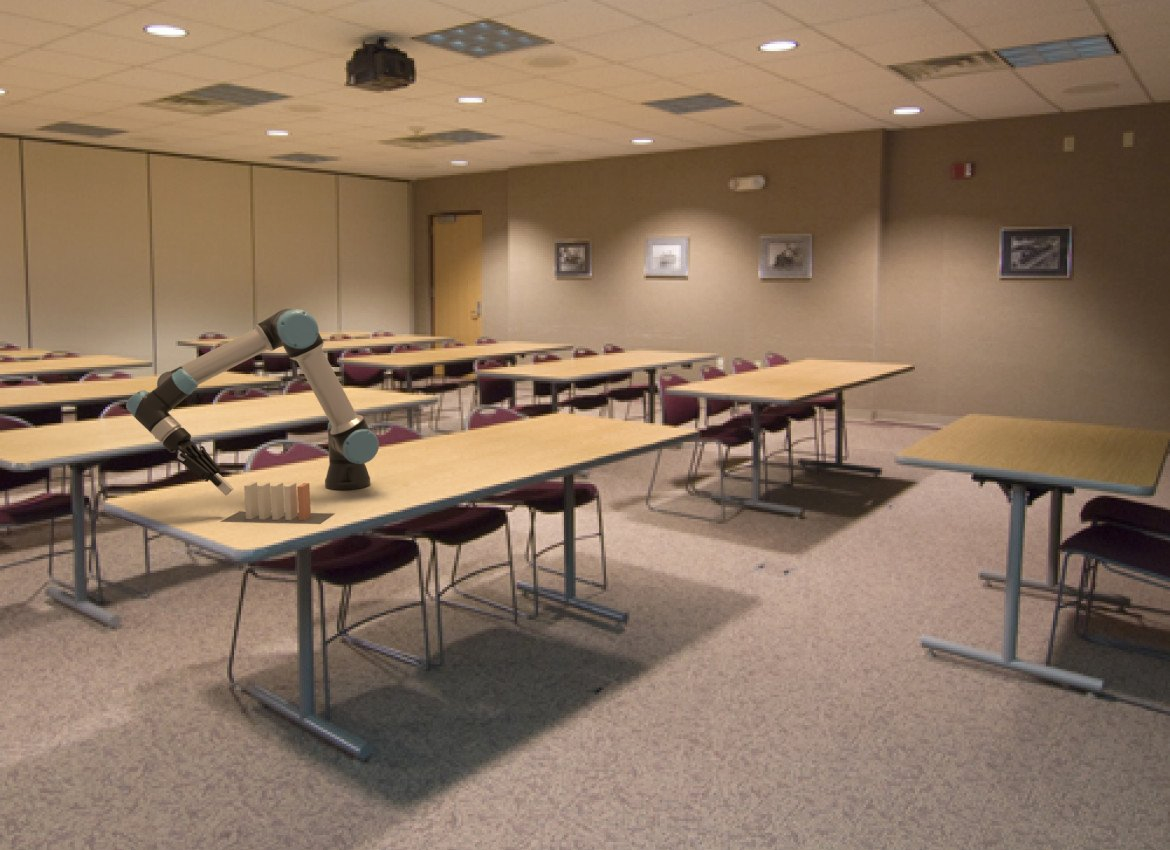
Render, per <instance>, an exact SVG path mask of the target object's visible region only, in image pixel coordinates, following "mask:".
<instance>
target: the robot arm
mask: <svg viewBox="0 0 1170 850" xmlns="http://www.w3.org/2000/svg"><path fill="white" fill-rule="evenodd" d="M324 343H325V342H324V340H323V338H322V336H321V334H320V329H319V325H318V322H317V321H316V319H315V318H314V316H312V315H311V314H310V313H309V312H307V311H305V310H304V309H298V308H294V309H293V308H285V309H280V310H279V311H277V312H275V313H274V314H272V315H271V316H269V317H267V318H266V319H265V320H263V321H261V322H258V323H257V324H256V325H255V327H254V328H253V329H252V330H250V331H248V332H246V333H244V334H242V335H241V336H238V337H236V338H234V339H232V340H230V341H228V342H226V343H225V344H222V345H220V346H218V347H216V348H214V349H212V350H210V351H208V352H206V353H204V354H203V355H199V356H198V357H196V358H194V359H192V360H190V361H189V362H186V363H184V364H182V365H180V366H178V367H176V368H175V369H173V370H171V371H169V370H168V371H165V372H163V373H161V374H160V376H159V377H158V378H157V382H156V388H154V389H153V390H152V391H150V392H149V391H147V390H146V389H142V390H138V391H137V392H136V393H134V394H132V396H130V397H129V399H128V400H127V401H126V403H125V407H126V410H127V411H128V412H129V413H130V414H131V415H132V416H133V418H135V419H136V420H137V421H138V423H140V424H141V425H142V426H143V428H145V429H146V430H147V431H148V432H149V433H150V434H151V435H152V436H153V437H154V439H155V440H158V442H159V443H162V446H163V447H164V448H165V449H166V450H167V451H168V452H169V453H176V455H177V457H175V460H176V461H177V462H179V463H181V464H182V465H183V466H185V467H186V468H188V469H189V470H190V471H191V472H193V473H194V474H195V475H196V476H197V477H199V478H200V479H202V480H204V481H205V483H206V482H209V481H210V482H211V483H212V484H213V485H214V486H215V487H216V488H218V490H219V491H220V492H221V493H222V494H223V495H224V496H228V495H229V494H230V493H231V492H232V491H233V490H234V487H233V486H232V485H231V484H230V483H229V482H228V481H227V480H226V479H225V478H224V477H223V476H222V475H221V474H220V472H221V468H220V467H219V466H218V464H217V463H216V461H214V459H213V458H212V457H211V455H210V454H209V453H208V452H207V450H206V448H205V446H203V445H200V447H199V446H197V445H196V444H195V443H194V442H192V441H191V438H192V434H191V433H189V431H187V430H186V428H184V427H182V425H181V423H180V422H178V421H177V419H175V418H174V417H173V415H172V414H170V413H169V412H170V411H172V410H173V409H174V408H175V407H176V406H178V405H180V403H181V402H182V401H184V400H185V399H186V398H187V397H189V396H190V395H192V394H193V392H194V391H196V389H198V387H199V385H201V384H202V383H205V382H206V381H208V380H211V379H212V378H214V377H217V376H218V375H221V374H223V373H224V372H226V371H229V370H230V369H233V368H234V367H236V366H238V365H240V364H242V363H244V362H246V361H248V360H250V359H252V358H254V357H257V356H259V355H260V354H261V353H264V352H265V351H269V352H272V351H273V352H274V350H276V349H279V348H282V347H283V349H284V350H285V353H286V355H287V356H288V358H289V359H290V360H293V361H295V362H297V364H298V366H299V368H300V369H301V372H302V373H303V374H304V375H303V376H304V377H305V379H306V380H307V383H308V385H309V386H310V389H311V390H312V392H313V393H314V395H315V398H316V399H317V401H318V403H319V404H320V407H321V408H322V410H323V413H324V414H325V416H326V417H327V419H328V421H329V422H327V429H326V430H327V441H328V460H329V461H328V463H329V465H328V469H327V472H326V477H325V479H324V487H325V489H326V488H327V489H330V490H336V491H338V490H339V491H343V490H344V491H345V490H346V491H348V490H357V489H363V488H366V487H369V486H370V485H371V477H370V475H369V471H368V468H367V466H366V463H369V462H370V461H372V460H373V459H374V458H375V457H376V455H377V454H378V451H379V447H380V441H379V439H378V436H377V435H376V434H375V433H374V432H373V431H372V430H371V429H370V427H369V426H368V424H367V422H366V420H365V418H364V416H363V415H360V414H357V413H356V411H355V410H354V409H355V408H354V407H353V406H352V403H351V402H350V401H351V400H349V398H348V395H347V394H346V391H345V390H344V388H343V387H342V384H341V382H340V380H339V379H338V377H337V375H336V374H335V371H334V370H333V368H332V366H331V363H330V362H329V360H328V358H327V356H326V354H325V352H324V351H323V346H324Z"/></svg>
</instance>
